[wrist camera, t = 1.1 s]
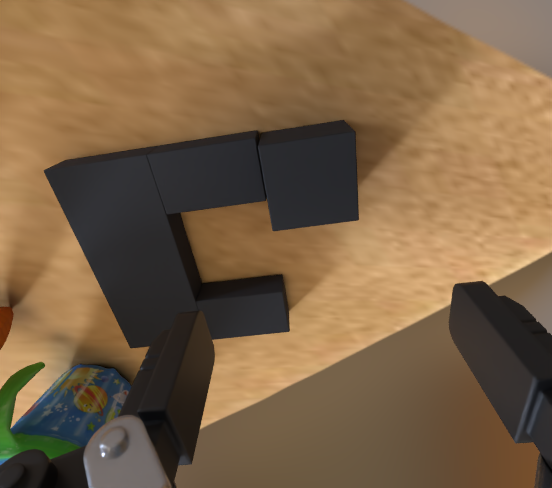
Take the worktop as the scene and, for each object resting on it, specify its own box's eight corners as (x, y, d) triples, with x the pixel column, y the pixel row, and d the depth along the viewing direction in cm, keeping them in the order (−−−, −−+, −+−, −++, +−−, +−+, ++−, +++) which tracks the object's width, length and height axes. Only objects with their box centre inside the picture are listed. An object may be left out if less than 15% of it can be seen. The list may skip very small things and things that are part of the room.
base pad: (64, 160, 24) (42, 170, 22) (257, 129, 23) (255, 137, 21) (140, 328, 32) (130, 348, 29) (289, 312, 30) (289, 332, 28)
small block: (261, 132, 23) (257, 145, 19) (343, 119, 22) (355, 130, 19) (274, 208, 26) (272, 231, 22) (348, 198, 25) (359, 220, 22)
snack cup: (12, 338, 32) (-90, 444, 24) (114, 322, 31) (47, 426, 22) (88, 435, 40) (32, 544, 31) (172, 425, 39) (140, 535, 30)
